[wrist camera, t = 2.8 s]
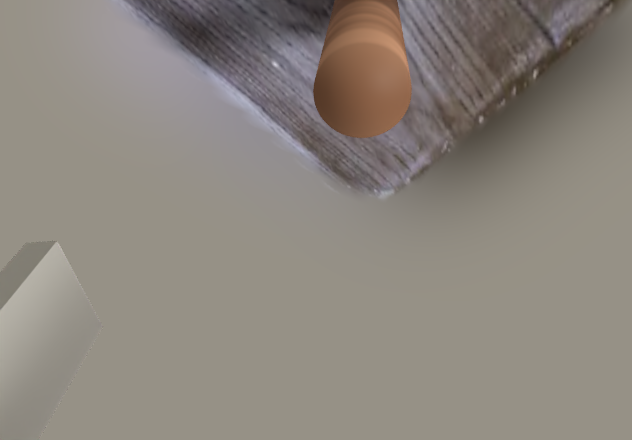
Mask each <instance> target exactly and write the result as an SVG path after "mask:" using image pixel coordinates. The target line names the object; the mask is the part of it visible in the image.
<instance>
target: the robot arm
mask: <svg viewBox="0 0 632 440" xmlns="http://www.w3.org/2000/svg"><path fill="white" fill-rule="evenodd" d="M102 328H103V326H102V324H101V322H100V320H99V318H98V316H97V314H96V313H95V311H94V309H93V307H92V305H91V303H90V301H89V300H88V298H87V296H86V294H85V292H84V290H83V288H82V286H81V285H80V283H79V281H78V279H77V277H76V275H75V274H74V272H73V270H72V268H71V266H70V264H69V262H68V260H67V259H66V257H65V255H64V253H63V251H62V249H61V247H60V245H59V244H58V242H57V241H48V242H32V243H26V244H25V245H24V246H23V247H22V248H21V250H19V252H18V253H17V254H16V255H15V256H14V257H13V258H12V259H11V261H10V262H9V263H8V264H7V265H6V266H5V267H4V268H3V270H2V271H1V272H0V440H39V438H40V436H41V434H42V433H43V431H44V429H45V428H46V426H47V424H48V422H49V420H50V419H51V417H52V415H53V414H54V412H55V410H56V408H57V407H58V405H59V403H60V401H61V400H62V398H63V396H64V394H65V392H66V391H67V389H68V387H69V385H70V384H71V382H72V380H73V378H74V377H75V375H76V373H77V371H78V369H79V368H80V366H81V364H82V363H83V361H84V359H85V357H86V356H87V354H88V352H89V350H90V348H91V347H92V345H93V343H94V342H95V340H96V338H97V336H98V335H99V333H100V331H101V329H102Z"/></svg>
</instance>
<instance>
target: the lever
mask: <svg viewBox="0 0 632 440" xmlns="http://www.w3.org/2000/svg"><path fill="white" fill-rule="evenodd" d="M411 90H412V88H411V80H410V74H409V68H408V62H407V56H406V50H405V44H404V38H403V32H402V26H401V20H400V14H399V8H398V2H397V0H335V2H334V6H333V10H332V14H331V18H330V22H329V26H328V30H327V34H326V38H325V42H324V46H323V50H322V54H321V58H320V62H319V66H318V70H317V74H316V78H315V82H314V91H313V93H314V101H315V105H316V108H317V110H318V112H319V114H320V116H321V117H322V119H323V120H324V121H325V122H326V123H327V124H328V125H329V126H330V127H331V128H333V129H334V130H336V131H337V132H339V133H341V134H344V135H347V136H351V137H357V138H367V137H373V136H376V135H379V134H382V133H384V132H386V131H388V130H390V129H391V128H392V127H394V126H395V125H396V124H397V123H398V122H399V121H400V120H401V119H402V117H403V116H404V114H405V113H406V111H407V109H408V106H409V103H410V100H411Z"/></svg>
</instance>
